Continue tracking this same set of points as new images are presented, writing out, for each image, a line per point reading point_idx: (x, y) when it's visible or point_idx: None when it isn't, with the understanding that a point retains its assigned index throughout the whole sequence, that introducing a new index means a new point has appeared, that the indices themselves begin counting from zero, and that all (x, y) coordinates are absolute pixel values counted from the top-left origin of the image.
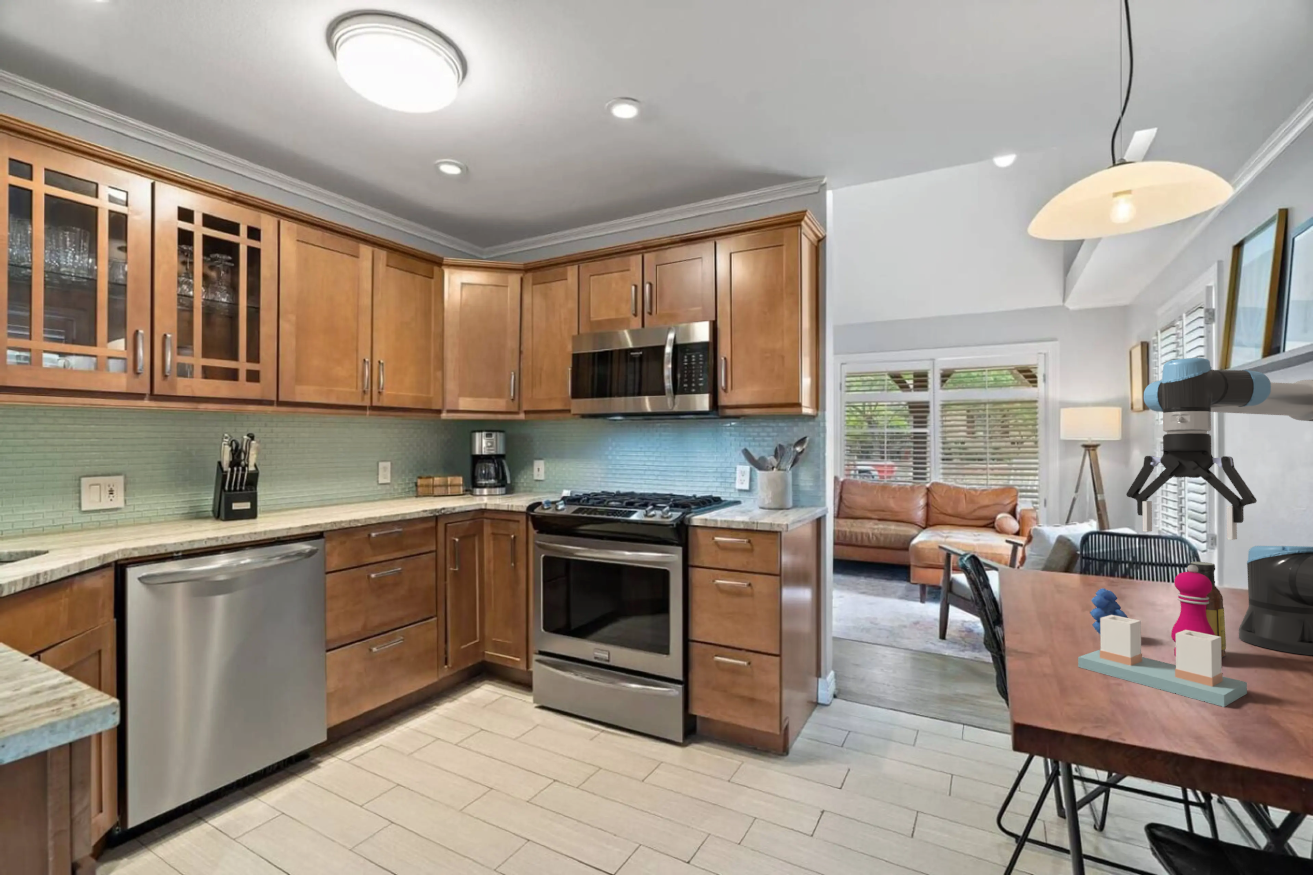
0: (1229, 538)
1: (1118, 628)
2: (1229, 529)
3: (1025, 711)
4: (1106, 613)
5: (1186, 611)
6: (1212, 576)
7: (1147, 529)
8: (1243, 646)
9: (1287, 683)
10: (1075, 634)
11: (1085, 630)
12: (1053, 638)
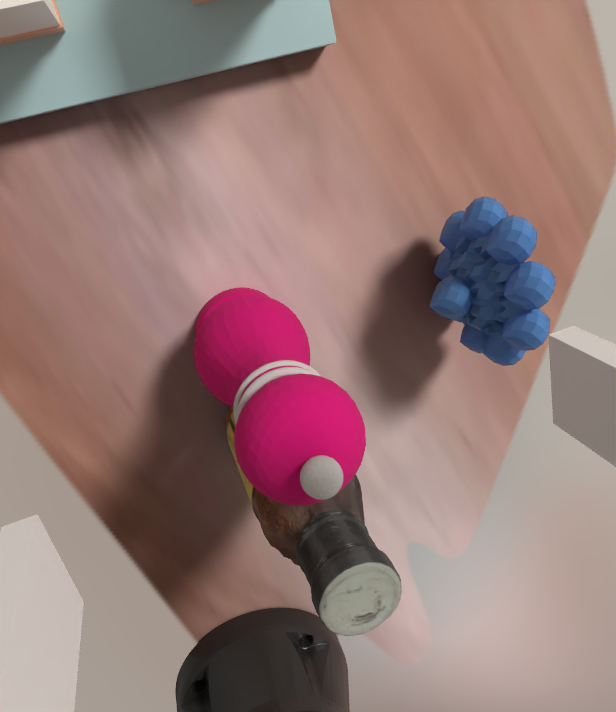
0: (19, 525)
1: None
2: (6, 585)
3: None
4: (474, 253)
5: (272, 353)
6: (305, 568)
7: (561, 351)
8: (283, 575)
9: (19, 369)
10: None
11: None
12: (508, 87)
